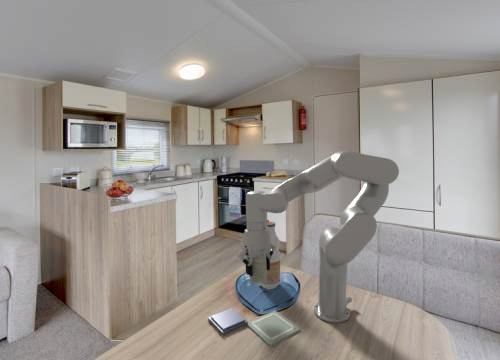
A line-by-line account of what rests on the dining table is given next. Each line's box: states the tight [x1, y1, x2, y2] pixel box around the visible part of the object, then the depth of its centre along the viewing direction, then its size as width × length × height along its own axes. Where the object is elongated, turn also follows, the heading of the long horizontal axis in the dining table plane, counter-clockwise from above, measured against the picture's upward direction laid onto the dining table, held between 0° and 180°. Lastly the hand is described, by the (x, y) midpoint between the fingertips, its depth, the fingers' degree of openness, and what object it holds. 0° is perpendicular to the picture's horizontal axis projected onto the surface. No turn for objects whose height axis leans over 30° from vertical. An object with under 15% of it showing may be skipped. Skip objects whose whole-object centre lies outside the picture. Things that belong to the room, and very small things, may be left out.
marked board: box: [246, 310, 301, 347], centre depth 95 cm, size 13×13×1 cm
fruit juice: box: [258, 221, 281, 290], centre depth 123 cm, size 9×9×28 cm
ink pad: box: [208, 307, 249, 337], centre depth 98 cm, size 10×10×2 cm
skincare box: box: [249, 250, 267, 284], centre depth 104 cm, size 6×4×12 cm
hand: (258, 271), depth 104 cm, fingers closed on skincare box, 7 cm apart
